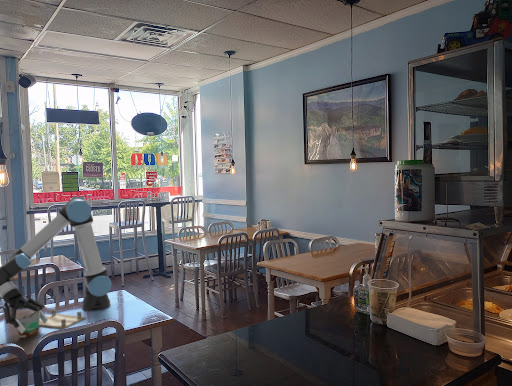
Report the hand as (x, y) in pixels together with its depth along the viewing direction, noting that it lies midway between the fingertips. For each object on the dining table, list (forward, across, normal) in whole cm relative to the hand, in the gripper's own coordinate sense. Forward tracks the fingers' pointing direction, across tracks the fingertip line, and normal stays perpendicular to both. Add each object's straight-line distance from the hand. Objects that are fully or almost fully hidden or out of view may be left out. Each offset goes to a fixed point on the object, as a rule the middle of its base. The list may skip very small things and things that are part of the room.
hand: (35, 326), depth 193 cm
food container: (+2, 0, -5) cm, 5 cm away
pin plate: (+1, -18, -6) cm, 19 cm away
